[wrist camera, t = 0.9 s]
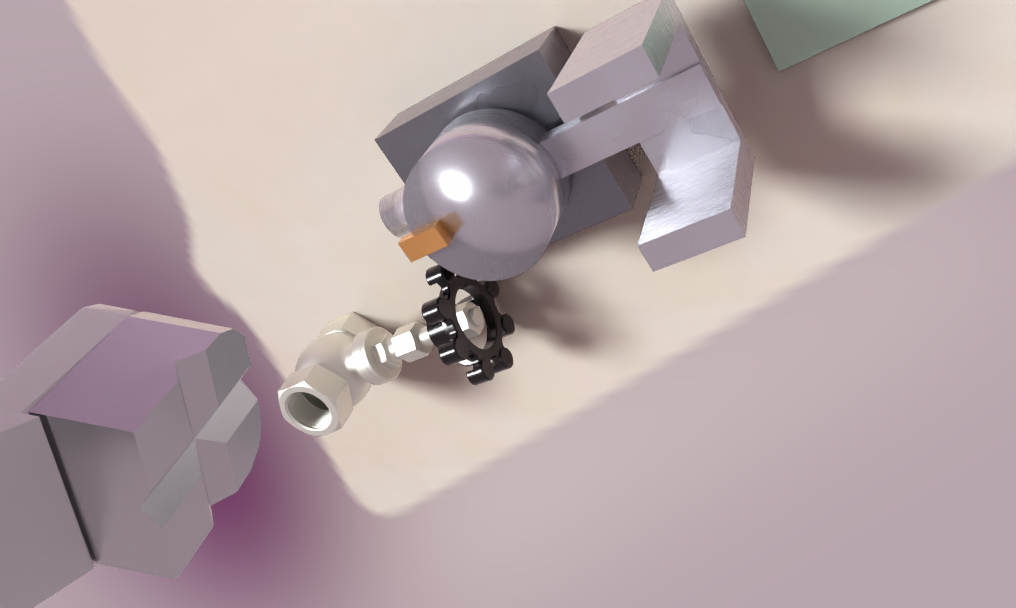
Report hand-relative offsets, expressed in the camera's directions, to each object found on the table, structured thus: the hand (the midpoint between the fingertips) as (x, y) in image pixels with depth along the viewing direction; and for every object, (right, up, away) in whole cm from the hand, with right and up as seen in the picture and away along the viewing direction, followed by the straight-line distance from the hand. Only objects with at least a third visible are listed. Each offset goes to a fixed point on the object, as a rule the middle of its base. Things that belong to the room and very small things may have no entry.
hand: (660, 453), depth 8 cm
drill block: (-2, +8, +36) cm, 37 cm away
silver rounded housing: (+1, +8, +31) cm, 32 cm away
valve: (-7, +1, +43) cm, 44 cm away
